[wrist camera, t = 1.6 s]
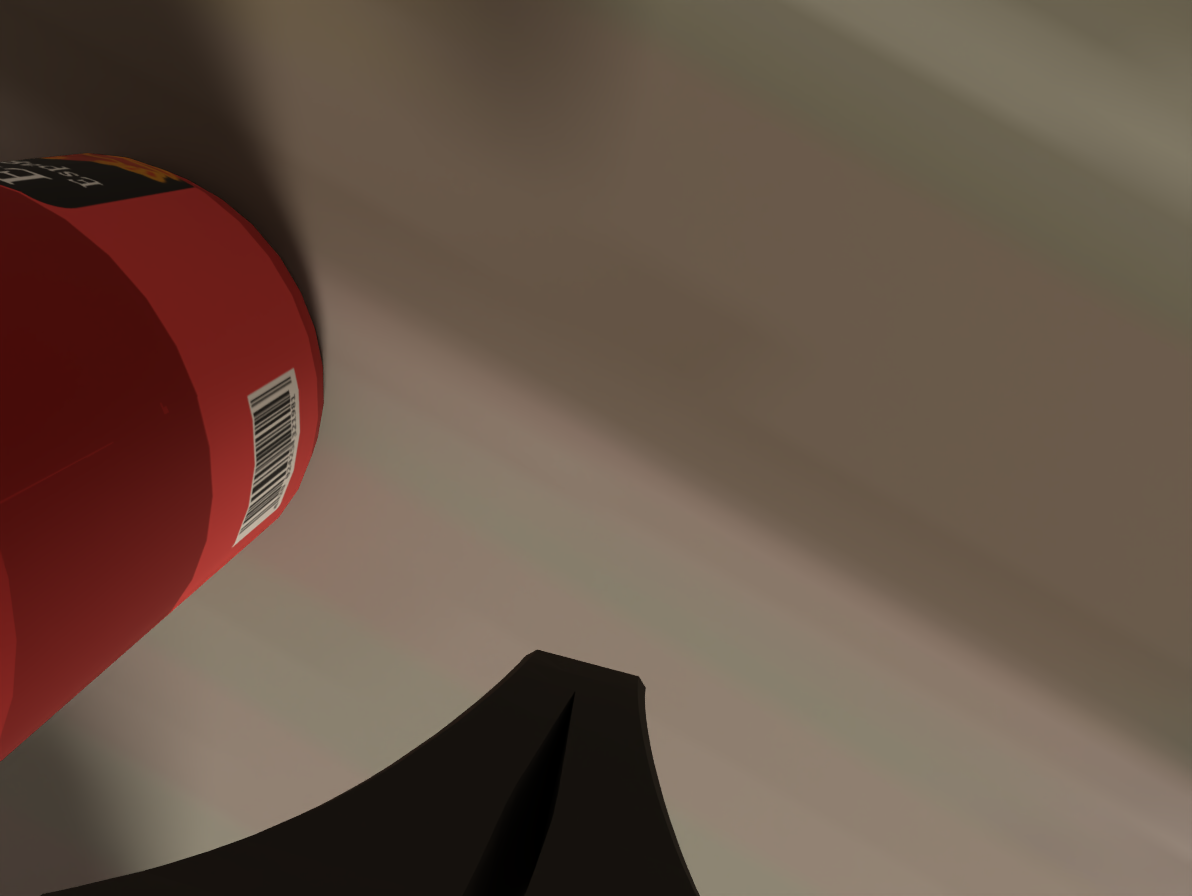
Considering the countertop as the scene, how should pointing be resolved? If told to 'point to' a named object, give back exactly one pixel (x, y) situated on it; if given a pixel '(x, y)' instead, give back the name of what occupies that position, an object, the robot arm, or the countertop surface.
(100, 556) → the canned food
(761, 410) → the countertop surface
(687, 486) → the countertop surface
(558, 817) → the robot arm
